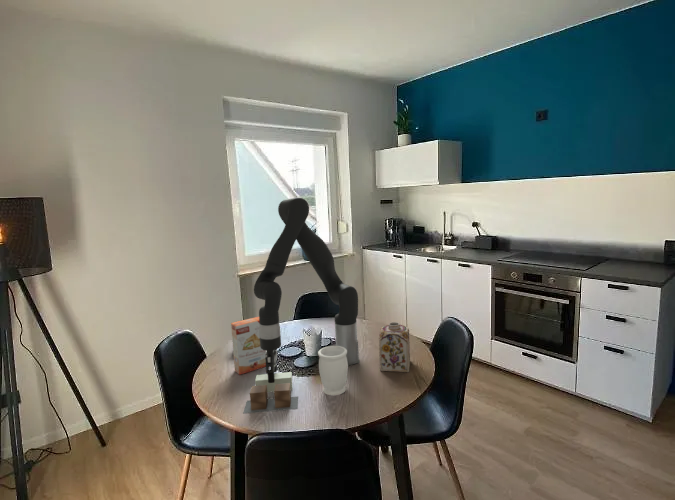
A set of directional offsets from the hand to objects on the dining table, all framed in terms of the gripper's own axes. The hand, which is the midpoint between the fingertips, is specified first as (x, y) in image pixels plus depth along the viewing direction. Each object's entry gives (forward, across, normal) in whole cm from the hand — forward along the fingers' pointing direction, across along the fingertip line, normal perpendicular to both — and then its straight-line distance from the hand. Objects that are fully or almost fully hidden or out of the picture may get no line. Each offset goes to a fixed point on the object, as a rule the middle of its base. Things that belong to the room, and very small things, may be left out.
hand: (272, 376), depth 139 cm
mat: (+5, -11, 0) cm, 12 cm away
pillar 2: (+5, -11, -4) cm, 13 cm away
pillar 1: (+5, -11, +4) cm, 12 cm away
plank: (+5, 0, 0) cm, 5 cm away
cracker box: (+5, +20, +11) cm, 23 cm away
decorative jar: (+5, +12, -48) cm, 50 cm away
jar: (+5, -4, -22) cm, 23 cm away
